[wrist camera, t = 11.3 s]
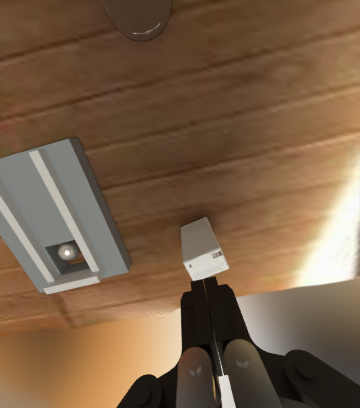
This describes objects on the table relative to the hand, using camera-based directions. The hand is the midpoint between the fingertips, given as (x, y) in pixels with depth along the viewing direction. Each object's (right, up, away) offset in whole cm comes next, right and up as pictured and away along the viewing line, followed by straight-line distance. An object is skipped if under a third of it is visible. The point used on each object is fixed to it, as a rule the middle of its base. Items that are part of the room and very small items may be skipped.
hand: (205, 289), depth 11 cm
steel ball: (-24, -4, +26) cm, 36 cm away
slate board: (-25, +2, +26) cm, 36 cm away
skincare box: (+2, 0, +28) cm, 28 cm away
